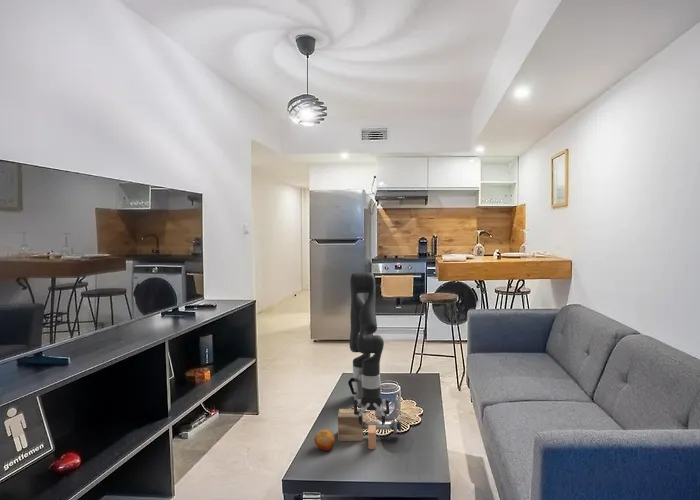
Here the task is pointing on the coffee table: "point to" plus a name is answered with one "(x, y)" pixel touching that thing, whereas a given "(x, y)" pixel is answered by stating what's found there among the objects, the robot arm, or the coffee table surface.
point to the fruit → (324, 440)
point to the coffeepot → (359, 384)
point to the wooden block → (349, 426)
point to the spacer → (372, 436)
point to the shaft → (386, 426)
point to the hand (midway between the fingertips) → (371, 424)
